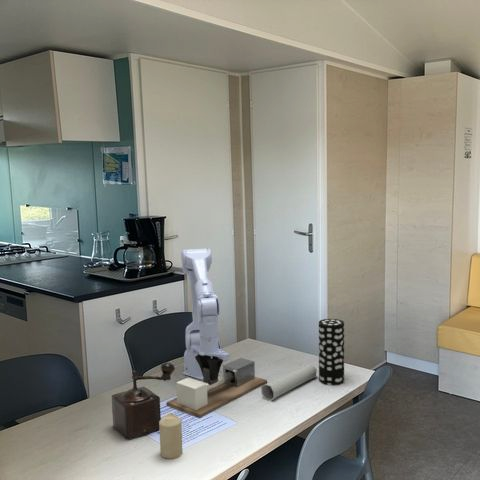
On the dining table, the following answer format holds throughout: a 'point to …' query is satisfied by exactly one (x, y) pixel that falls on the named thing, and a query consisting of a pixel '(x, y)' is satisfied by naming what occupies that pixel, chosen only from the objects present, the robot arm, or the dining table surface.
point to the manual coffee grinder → (138, 407)
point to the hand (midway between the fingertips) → (210, 378)
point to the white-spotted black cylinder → (331, 351)
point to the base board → (219, 397)
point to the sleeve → (240, 371)
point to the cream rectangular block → (192, 393)
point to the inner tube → (218, 382)
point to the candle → (170, 436)
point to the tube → (288, 382)
